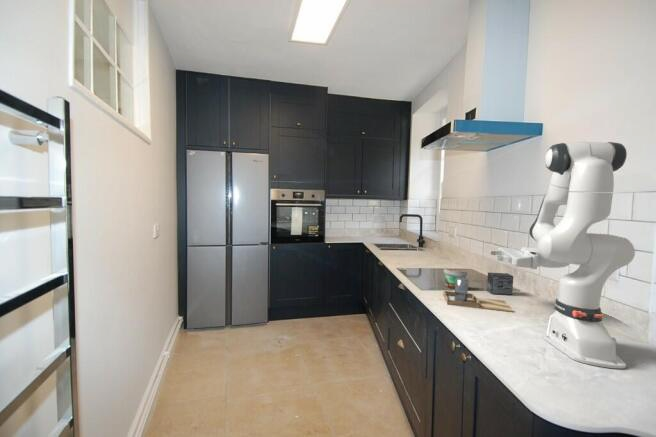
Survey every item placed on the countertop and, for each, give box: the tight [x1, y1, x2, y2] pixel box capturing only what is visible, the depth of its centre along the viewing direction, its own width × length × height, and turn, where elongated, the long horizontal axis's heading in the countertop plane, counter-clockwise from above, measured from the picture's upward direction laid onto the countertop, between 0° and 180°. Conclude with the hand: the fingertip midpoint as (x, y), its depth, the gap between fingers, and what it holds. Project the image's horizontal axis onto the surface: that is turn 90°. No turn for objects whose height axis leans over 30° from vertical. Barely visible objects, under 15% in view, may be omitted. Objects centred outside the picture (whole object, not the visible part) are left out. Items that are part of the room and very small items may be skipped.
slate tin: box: [453, 277, 469, 302], centre depth 137 cm, size 6×6×11 cm
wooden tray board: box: [442, 290, 516, 313], centre depth 136 cm, size 14×28×2 cm, turn 76°
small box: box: [486, 272, 514, 296], centre depth 152 cm, size 11×6×10 cm, turn 84°
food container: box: [443, 268, 468, 290], centre depth 157 cm, size 12×6×10 cm, turn 71°
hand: (494, 255), depth 132 cm, fingers open, 8 cm apart
